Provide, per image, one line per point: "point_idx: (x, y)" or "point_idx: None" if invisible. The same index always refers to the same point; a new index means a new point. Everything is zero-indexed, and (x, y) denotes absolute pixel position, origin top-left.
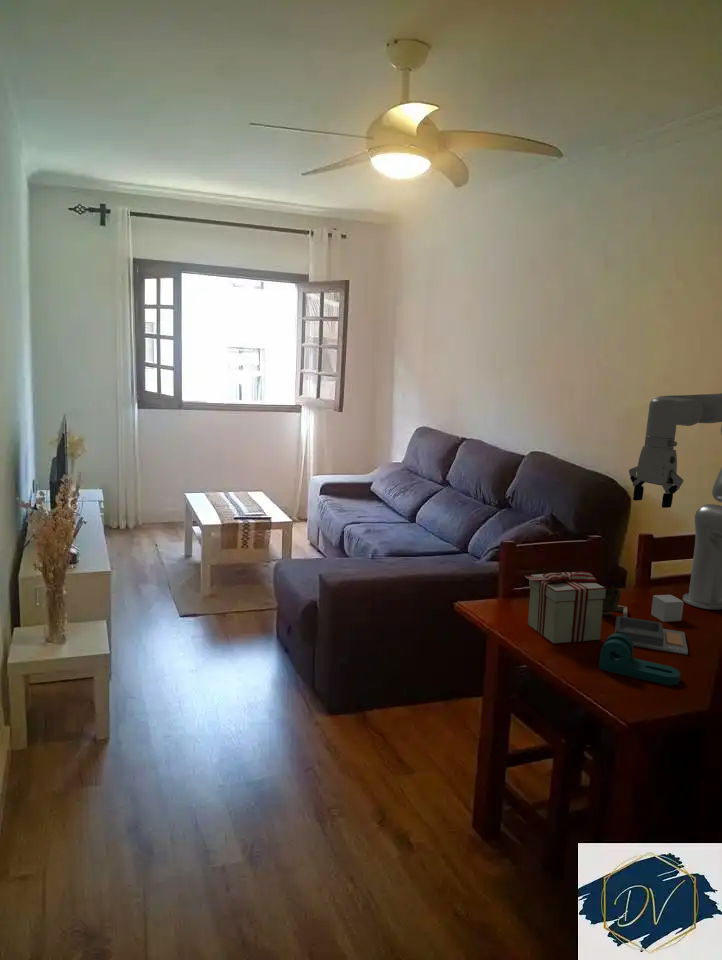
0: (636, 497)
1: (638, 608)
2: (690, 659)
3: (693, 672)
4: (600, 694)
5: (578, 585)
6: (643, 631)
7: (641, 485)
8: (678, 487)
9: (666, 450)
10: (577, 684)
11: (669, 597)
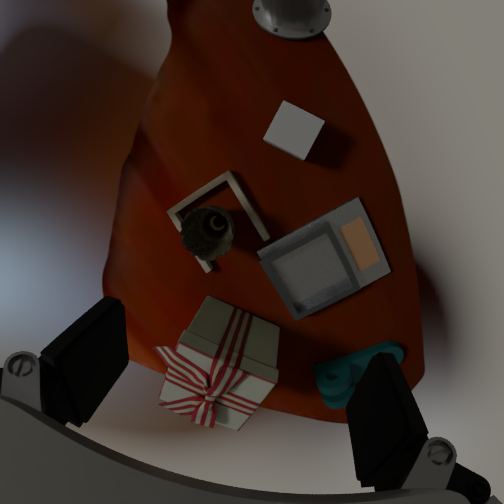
0: (119, 368)
1: (234, 134)
2: (396, 280)
3: (408, 314)
4: (346, 416)
5: (239, 401)
6: (311, 255)
7: (55, 392)
8: (476, 497)
9: None
10: (322, 417)
11: (291, 120)
